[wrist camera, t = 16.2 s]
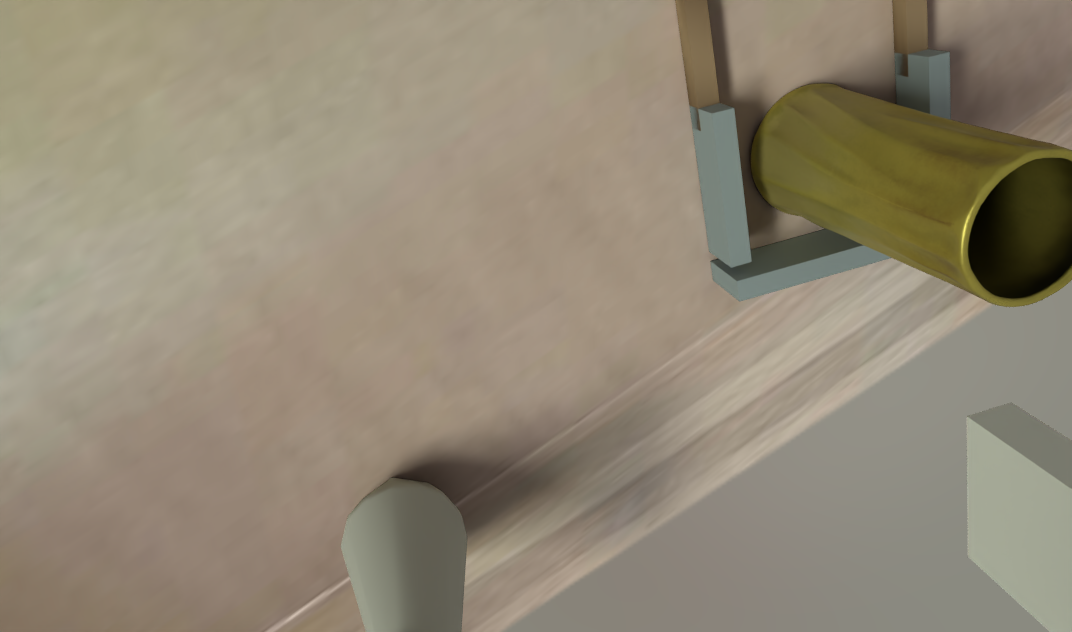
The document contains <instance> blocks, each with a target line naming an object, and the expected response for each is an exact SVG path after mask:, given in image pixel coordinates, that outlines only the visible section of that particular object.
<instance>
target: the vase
mask: <svg viewBox="0 0 1072 632" xmlns="http://www.w3.org/2000/svg"><path fill="white" fill-rule="evenodd" d="M751 170H752V175H753V179H754V181H755V184H756V186H757V188H758V190H759V192H760V193H761V195H762V196H763V197H764V199H765V200H766V201H767V202H768V203H769V204H770V205H772V206H773V207H775V208H776V209H778V210H780V211H782V212H784V213H787V214H792V215H797V216H802V217H804V218H805V219H807V220H809V221H811V222H813V223H815V224H817V225H819V226H821V227H823V228H826V229H828V230H831V231H833V232H836V233H838V234H840V235H843V236H845V237H847V238H849V239H851V240H853V241H856V242H858V243H860V244H862V245H864V246H866V247H869V248H871V249H873V250H875V251H878V252H880V253H882V254H885V255H887V256H889V257H891V258H894V259H896V260H898V261H900V262H903V263H905V264H907V265H909V266H912V267H914V268H916V269H918V270H921V271H923V272H925V273H928V274H930V275H932V276H934V277H937V278H939V279H941V280H944V281H946V282H948V283H950V284H952V285H954V286H957V287H959V288H961V289H963V290H965V291H967V292H969V293H971V294H973V295H975V296H977V297H979V298H981V299H983V300H985V301H987V302H989V303H991V304H995V305H999V306H1005V307H1017V306H1025V305H1029V304H1033V303H1035V302H1038V301H1040V300H1043V299H1044V298H1046V297H1048V296H1050V295H1052V294H1054V293H1055V292H1057V291H1059V290H1060V289H1061V288H1063V287H1064V286H1065V285H1066V284H1068V283H1069V282H1070V281H1071V280H1072V150H1069V149H1066V148H1063V147H1060V146H1057V145H1054V144H1051V143H1046V142H1041V141H1037V140H1032V139H1028V138H1024V137H1020V136H1016V135H1012V134H1007V133H1002V132H998V131H994V130H990V129H986V128H982V127H978V126H973V125H969V124H965V123H961V122H957V121H953V120H950V119H946V118H942V117H939V116H935V115H931V114H928V113H924V112H921V111H917V110H914V109H911V108H907V107H903V106H900V105H896V104H893V103H890V102H886V101H883V100H880V99H877V98H873V97H870V96H867V95H863V94H860V93H856V92H853V91H849V90H846V89H843V88H841V87H839V86H837V85H835V84H809V85H806V86H802V87H800V88H797V89H795V90H793V91H791V92H790V93H788V94H786V95H785V96H784V97H782V98H781V99H780V100H779V101H777V102H776V103H775V104H774V105H773V106H772V107H771V109H770V110H769V111H768V112H767V114H766V116H765V117H764V119H763V120H762V122H761V124H760V126H759V128H758V130H757V133H756V135H755V137H754V140H753V144H752V150H751Z"/></svg>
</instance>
